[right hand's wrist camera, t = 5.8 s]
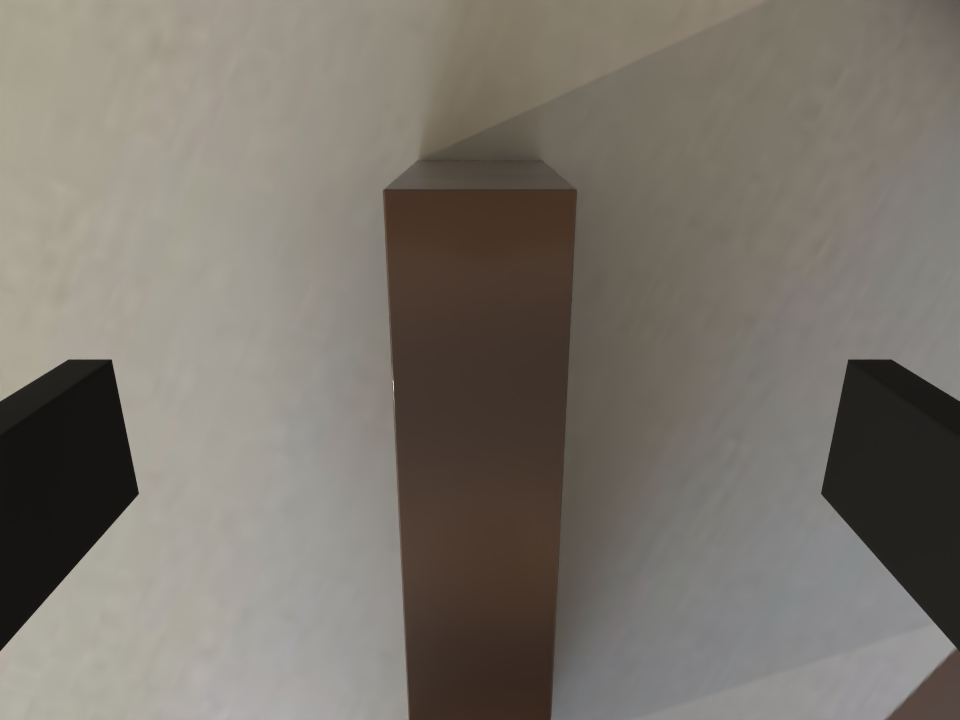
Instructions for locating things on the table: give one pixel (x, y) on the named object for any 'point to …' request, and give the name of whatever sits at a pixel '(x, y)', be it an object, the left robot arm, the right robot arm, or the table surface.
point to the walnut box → (479, 428)
